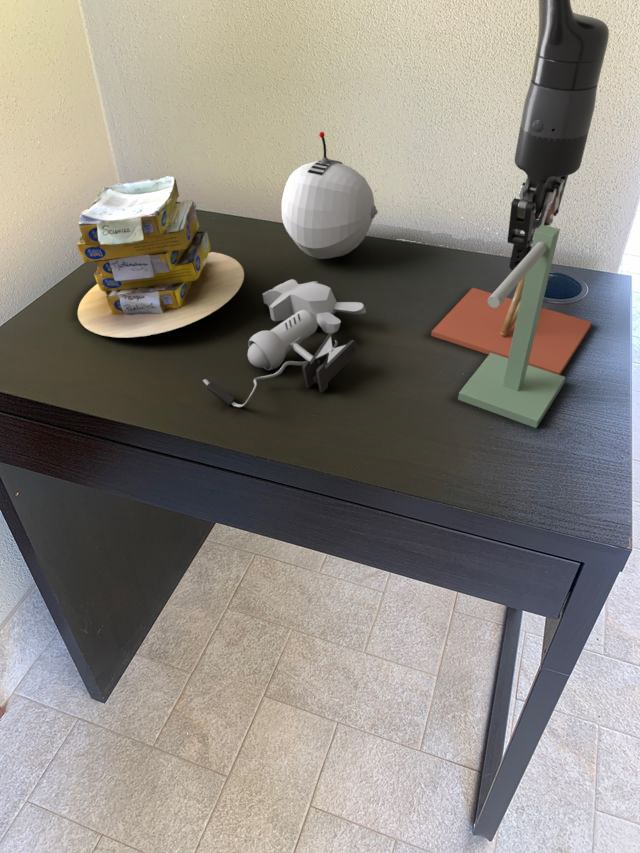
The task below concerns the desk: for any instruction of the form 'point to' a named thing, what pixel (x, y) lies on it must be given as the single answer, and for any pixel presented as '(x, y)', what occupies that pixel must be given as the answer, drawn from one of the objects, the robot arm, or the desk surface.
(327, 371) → the clip-on lamp
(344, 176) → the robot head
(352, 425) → the desk surface
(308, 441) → the desk surface
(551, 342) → the mat
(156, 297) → the stacked boxes on plate
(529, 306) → the hook stand
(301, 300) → the bunny figurine
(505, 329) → the hanger
